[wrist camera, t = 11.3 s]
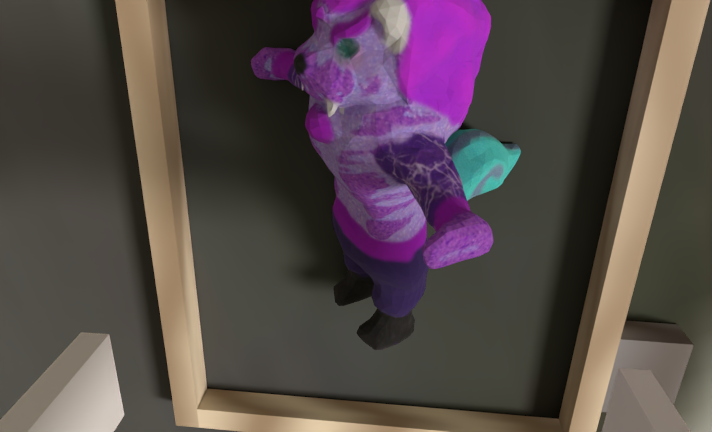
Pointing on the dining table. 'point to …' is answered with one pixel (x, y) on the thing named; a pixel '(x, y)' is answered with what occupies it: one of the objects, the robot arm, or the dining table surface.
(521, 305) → the dining table surface
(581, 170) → the dining table surface
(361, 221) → the toy
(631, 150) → the pocket frame
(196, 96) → the dining table surface
